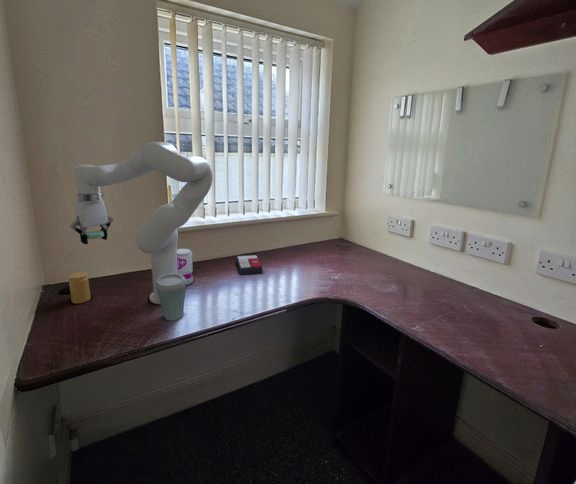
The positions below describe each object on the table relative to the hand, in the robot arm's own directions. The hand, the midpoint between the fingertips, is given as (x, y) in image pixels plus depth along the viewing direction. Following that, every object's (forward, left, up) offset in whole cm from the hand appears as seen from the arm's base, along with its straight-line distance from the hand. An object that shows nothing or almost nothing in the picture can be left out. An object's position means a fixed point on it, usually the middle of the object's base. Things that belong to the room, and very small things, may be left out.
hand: (94, 241), depth 127 cm
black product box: (-21, -62, -22) cm, 69 cm away
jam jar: (-3, +8, -22) cm, 23 cm away
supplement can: (-15, -29, -22) cm, 39 cm away
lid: (0, 0, +3) cm, 3 cm away
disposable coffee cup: (-38, -12, -22) cm, 46 cm away
